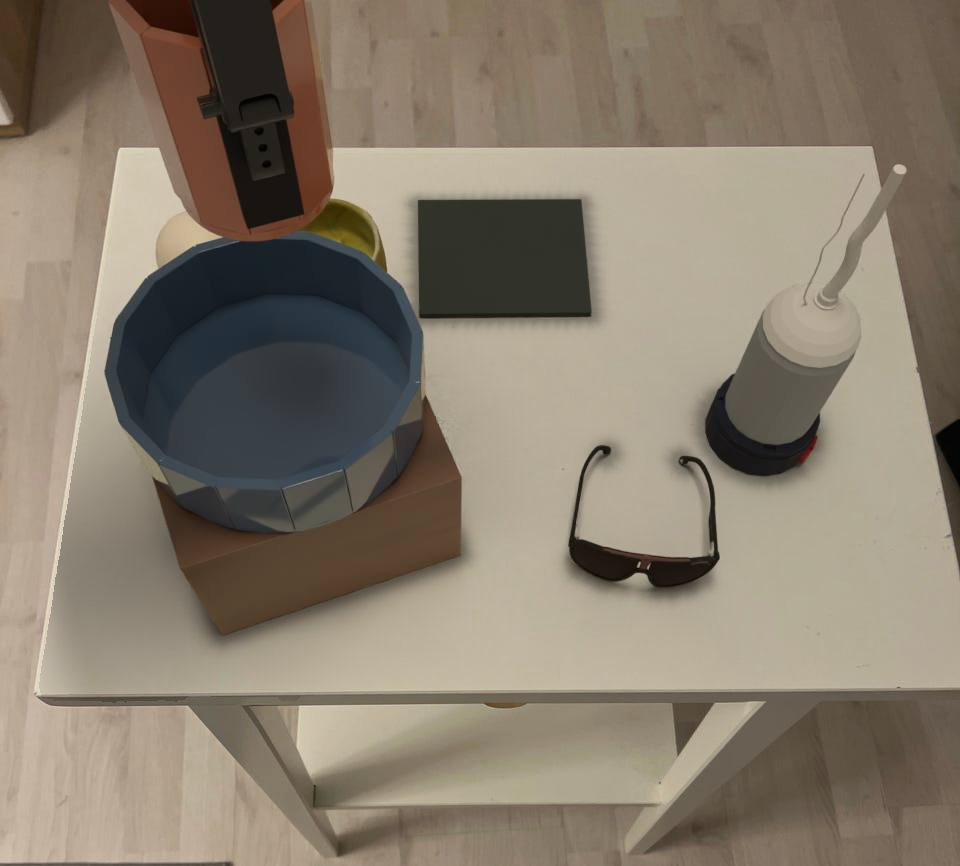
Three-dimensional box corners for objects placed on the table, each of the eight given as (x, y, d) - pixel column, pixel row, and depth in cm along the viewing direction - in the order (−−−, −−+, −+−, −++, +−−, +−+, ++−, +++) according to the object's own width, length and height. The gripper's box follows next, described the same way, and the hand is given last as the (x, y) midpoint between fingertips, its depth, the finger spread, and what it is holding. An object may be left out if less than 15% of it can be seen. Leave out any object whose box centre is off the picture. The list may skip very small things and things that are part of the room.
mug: (408, 238, 78) (373, 174, 68) (407, 362, 77) (372, 315, 67) (266, 250, 80) (212, 189, 70) (265, 371, 79) (210, 326, 70)
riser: (158, 430, 73) (109, 336, 63) (380, 363, 76) (369, 263, 65) (222, 635, 67) (180, 569, 57) (460, 555, 70) (462, 478, 60)
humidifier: (818, 474, 73) (989, 225, 50) (712, 477, 73) (834, 229, 49) (800, 385, 76) (953, 110, 53) (698, 388, 76) (807, 113, 52)
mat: (419, 317, 77) (419, 313, 77) (418, 204, 82) (417, 199, 81) (590, 316, 78) (591, 312, 77) (580, 203, 82) (581, 198, 82)
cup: (158, 146, 47) (86, -64, 38) (311, 108, 49) (278, -104, 39) (197, 260, 45) (129, 65, 36) (357, 217, 46) (332, 18, 37)
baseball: (250, 246, 79) (232, 182, 73) (255, 317, 77) (238, 256, 71) (167, 255, 79) (143, 190, 73) (171, 326, 76) (145, 265, 70)
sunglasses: (561, 586, 69) (569, 548, 64) (574, 458, 75) (582, 414, 70) (706, 605, 69) (724, 568, 64) (707, 475, 74) (725, 432, 70)
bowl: (105, 335, 63) (75, 276, 58) (371, 260, 65) (364, 198, 60) (177, 573, 57) (150, 531, 52) (466, 479, 59) (467, 431, 54)
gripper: (331, -424, 21) (393, 294, 42) (120, -785, 28) (266, -8, 49) (-13, -368, 20) (229, 340, 41) (-146, -758, 27) (121, 25, 48)
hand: (249, 151), depth 45 cm, fingers closed on cup, 8 cm apart
